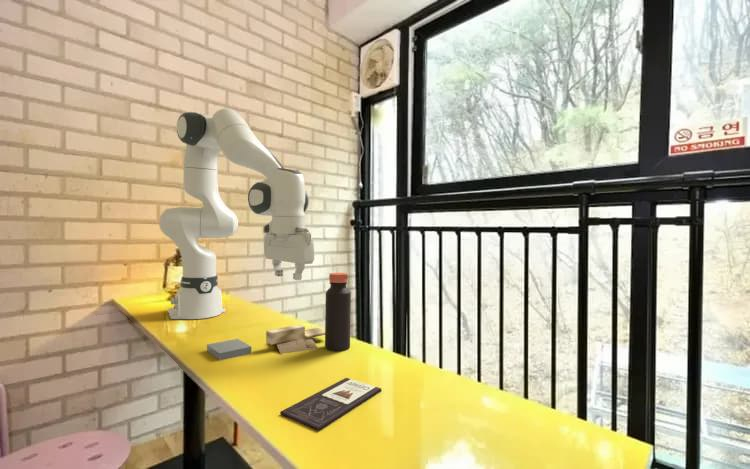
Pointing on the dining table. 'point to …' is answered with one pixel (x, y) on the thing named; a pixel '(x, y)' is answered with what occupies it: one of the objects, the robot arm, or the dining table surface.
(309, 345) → the curved brown bark piece
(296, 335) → the stepped wooden block
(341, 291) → the bottle
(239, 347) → the grey framed square panel
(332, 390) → the chocolate bar
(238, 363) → the dining table surface
